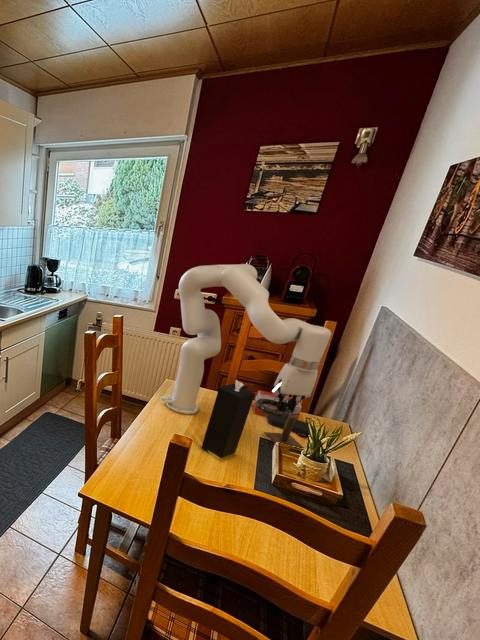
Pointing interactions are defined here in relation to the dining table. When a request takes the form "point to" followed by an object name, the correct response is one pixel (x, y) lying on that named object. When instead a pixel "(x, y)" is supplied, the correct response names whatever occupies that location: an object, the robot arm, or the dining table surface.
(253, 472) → the dining table surface
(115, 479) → the dining table surface
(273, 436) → the post
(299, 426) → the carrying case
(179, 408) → the robot arm
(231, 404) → the tissue box
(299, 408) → the medicine box
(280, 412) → the ring
